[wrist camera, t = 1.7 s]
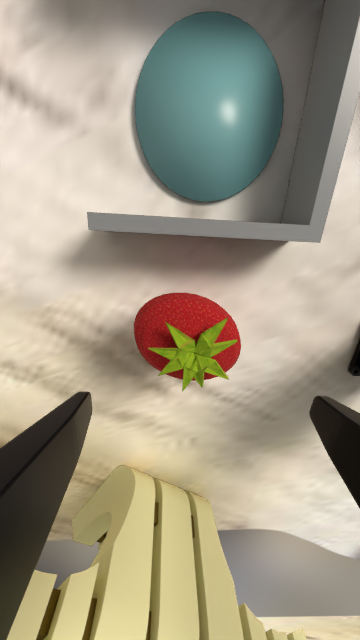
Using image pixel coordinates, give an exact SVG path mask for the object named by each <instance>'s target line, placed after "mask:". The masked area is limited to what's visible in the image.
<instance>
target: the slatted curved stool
mask: <svg viewBox="0 0 360 640" xmlns="http://www.w3.org/2000/svg"><path fill="white" fill-rule="evenodd" d="M71 522H72V528H73V541H75V542H78V543H82V544H85V545H88V546H93V545H94V543H95V542H99V546H98V548H99V549H100V550H99V552H98V554H97V556H96V557H95V559H94V561H93V563H92V564H91V566H90V568H89V569H87V570H85V571H82V572H79V573H74V574H71V575H70V576H69V577H68V578H67V579H66V580H65V581H64V582H63V583H62V584H61V585H60V586H59V587H58V588H57V589H54V588H53V587H54V583H55V580H56V577H57V574H50V573H44V572H41V571H37V570H34V572H33V575H32V577H31V580H30V582H29V585H28V587H27V590H26V592H25V595H24V597H23V600H22V602H21V605H20V607H19V610H18V612H17V615H16V617H15V620H14V622H13V625H12V627H11V630H10V632H9V635H8V637H7V640H307V639H306V636H305V633H304V630H303V628H302V629H300V630H298V631H295V632H292V633H290V634H288V635H286V633H284V632H278V631H276V630H273V629H270V630H268V631H267V632H265V629H264V625H263V623H262V622H261V621H260V620H258V619H257V618H256V617H255V616H254V615H253V614H252V612H251V611H250V610H249V609H248V607H247V606H246V604H245V603H244V604H242V605H240V606H239V607H238V604H237V598H236V593H235V587H234V582H233V578H232V576H231V573H230V570H229V568H228V565H227V562H226V559H225V556H224V553H223V550H222V547H221V544H220V540H219V537H218V533H217V530H216V525H215V521H214V516H213V511H212V507H211V504H210V502H209V501H208V500H207V499H205V498H202V497H200V496H198V495H195V494H193V493H190V492H188V491H184V490H183V489H181V488H178V487H176V486H173V485H171V484H169V483H166V482H164V481H161V480H159V479H156V478H152V477H151V476H149V475H147V474H144V473H142V472H139V471H137V470H135V469H132V468H130V467H127V466H119V467H117V468H116V469H115V470H114V471H113V472H112V474H111V475H110V476H109V477H108V478H107V480H106V481H105V482H104V483H103V484H102V485H101V487H100V488H99V489H98V490H97V491H96V493H95V494H94V495H93V496H92V497H91V499H90V500H89V501H88V502H87V503H86V504H85V506H84V507H83V508H82V509H81V510H80V512H79V513H78V514H77V515H76V516H75V518H74V519H73V520H72V521H71Z"/></svg>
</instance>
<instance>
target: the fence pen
mask: <svg viewBox="0 0 360 640" xmlns="http://www.w3.org/2000/svg"><path fill="white" fill-rule="evenodd" d="M359 93H360V0H325V4H324V9H323V14H322V19H321V24H320V29H319V34H318V39H317V44H316V49H315V54H314V59H313V64H312V69H311V74H310V79H309V84H308V89H307V95H306V100H305V105H304V110H303V115H302V120H301V125H300V130H299V135H298V140H297V145H296V150H295V155H294V160H293V165H292V170H291V175H290V180H289V186H288V191H287V196H286V201H285V206H284V211H283V216H282V221H281V224H278V223H261V222H245V221H228V220H211V219H194V218H178V217H161V216H144V215H127V214H111V213H94V212H87V217H88V228H89V230H97V231H114V232H132V233H150V234H169V235H187V236H205V237H223V238H242V239H260V240H278V241H297V242H317V243H320V241H321V237H322V233H323V230H324V226H325V222H326V218H327V215H328V211H329V207H330V203H331V199H332V196H333V192H334V188H335V184H336V180H337V177H338V173H339V169H340V165H341V161H342V158H343V154H344V150H345V146H346V143H347V139H348V135H349V131H350V127H351V124H352V120H353V116H354V112H355V108H356V105H357V101H358V97H359ZM282 115H283V93H282V84H281V79H280V74H279V71H278V68H277V65H276V62H275V60H274V57H273V55H272V53H271V51H270V49H269V48H268V46H267V44H266V43H265V41H264V40H263V39H262V38H261V36H260V35H259V34H258V33H257V32H256V31H255V30H254V29H253V28H252V27H251V26H250V25H249V24H247V23H245V22H244V21H242V20H241V19H239V18H237V17H235V16H232V15H230V14H226V13H221V12H202V13H196V14H193V15H190V16H188V17H185V18H183V19H182V20H180V21H178V22H176V23H175V24H174V25H173V26H171V27H170V28H169V29H168V30H166V31H165V33H164V34H163V35H162V36H161V37H160V38H159V39H158V40H157V42H156V43H155V45H154V46H153V48H152V49H151V51H150V53H149V55H148V57H147V59H146V60H145V63H144V66H143V68H142V71H141V74H140V78H139V82H138V85H137V92H136V102H135V116H136V126H137V132H138V137H139V140H140V144H141V147H142V150H143V152H144V155H145V157H146V159H147V161H148V163H149V165H150V167H151V168H152V170H153V171H154V173H155V174H156V176H157V177H158V178H159V179H160V180H161V181H162V182H163V183H164V184H165V185H166V186H167V187H168V188H169V189H171V190H172V191H174V192H175V193H177V194H179V195H181V196H183V197H185V198H188V199H191V200H195V201H202V202H209V201H217V200H222V199H225V198H228V197H230V196H232V195H234V194H236V193H238V192H239V191H241V190H243V189H244V188H245V187H247V186H248V185H249V184H250V183H251V182H252V181H253V180H254V179H255V178H256V177H257V176H258V175H259V174H260V172H261V171H262V170H263V168H264V167H265V166H266V164H267V162H268V160H269V159H270V157H271V155H272V153H273V150H274V148H275V146H276V143H277V140H278V137H279V133H280V128H281V123H282Z"/></svg>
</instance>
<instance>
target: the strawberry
mask: <svg viewBox="0 0 360 640" xmlns="http://www.w3.org/2000/svg"><path fill="white" fill-rule="evenodd" d="M134 334H135V340H136V343H137V347H138V349H139V351H140V353H141V354H142V356H143V357H144V358H145V359H146V360H147V362H148V363H150V364H151V365H152V366H153V367H154V368H156V369H158V370H159V371H161V373H160V374H159V375H163V374H167V375H169V376H172V377H175V378H179V379H183V389H182V392H183V390H184V389H185V388H186V386H187V385H188V384H189V383H190V381H191V380H196V381H197V382H198V383H199V385H200V386H201V387H203V381H204V380H207V379H211V378H214V377H218V376H219V377H222V378H225V379H228V380H229V378H228V376H227V375H226V374H225V372H227V371H228V370H229V369H230V368H232V367H233V365H234V364H235V363H236V361H237V359H238V357H239V355H240V349H241V342H240V336H239V332H238V329H237V326H236V324H235V322H234V321H233V319H232V317H231V316H230V315H229V314H228V313H227V312H226V311H225V310H224V309H223V308H222V307H220V306H219V305H218V304H217V303H215V302H213V301H211V300H209V299H207V298H205V297H202V296H199V295H196V294H190V293H169V294H163V295H161V296H158V297H155V298H153V299H152V300H150V301H148V302H147V303H146V304H145V305H144V306H143V307H142V308H141V309H140V310H139V312H138V314H137V315H136V318H135V322H134ZM159 375H158V376H159Z"/></svg>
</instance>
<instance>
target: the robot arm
mask: <svg viewBox="0 0 360 640" xmlns="http://www.w3.org/2000/svg"><path fill="white" fill-rule="evenodd" d="M348 371H349V373H350V374H352V375H353V376H360V341H359V344H358V346H357V349H356V352H355V354H354V357H353V359H352V362H351V365H350V367H349V370H348ZM91 415H92V401H91V394H90V392H78V393H76V394H75V395H73V396H72V397H71V398H69V399H68V400H66V401H65V402H64V403H62V404H61V405H60V406H58V407H57V408H55V409H54V410H53V411H51V412H50V413H48V414H47V415H46V416H44V417H43V418H42V419H40V420H39V421H37V422H36V423H35V424H33V425H32V426H30V427H29V428H28V429H26V430H25V431H24V432H22V433H21V434H19V435H18V436H17V437H15V438H14V439H12V440H11V441H10V442H8V443H7V444H6V445H4V446H3V447H1V448H0V640H7V637H8V635H9V632H10V630H11V627H12V625H13V622H14V620H15V617H16V615H17V612H18V610H19V607H20V605H21V602H22V600H23V597H24V595H25V592H26V590H27V587H28V585H29V582H30V580H31V577H32V575H33V572H34V570H35V567H36V565H37V562H38V560H39V557H40V555H41V552H42V550H43V547H44V545H45V542H46V540H47V537H48V535H49V532H50V530H51V527H52V525H53V522H54V520H55V517H56V515H57V512H58V510H59V507H60V505H61V502H62V500H63V497H64V495H65V492H66V490H67V487H68V485H69V482H70V480H71V477H72V475H73V472H74V470H75V467H76V465H77V462H78V459H79V457H80V454H81V450H82V447H83V443H84V440H85V436H86V433H87V429H88V426H89V422H90V419H91ZM310 417H311V420H312V422H313V424H314V426H315V428H316V430H317V432H318V434H319V436H320V439H321V441H322V443H323V445H324V447H325V449H326V451H327V453H328V455H329V457H330V459H331V460H332V462H333V464H334V465H335V467H336V469H337V471H338V472H339V474H340V476H341V477H342V479H343V481H344V483H345V484H346V486H347V488H348V489H349V491H350V493H351V494H352V496H353V498H354V500H355V501H356V503H357V505H358V506H359V508H360V413H358V412H356V411H354V410H352V409H350V408H349V407H347V406H345V405H343V404H341V403H339V402H337V401H335V400H334V399H332V398H330V397H328V396H316V397H315V398H314V400H313V403H312V406H311V409H310Z"/></svg>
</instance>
